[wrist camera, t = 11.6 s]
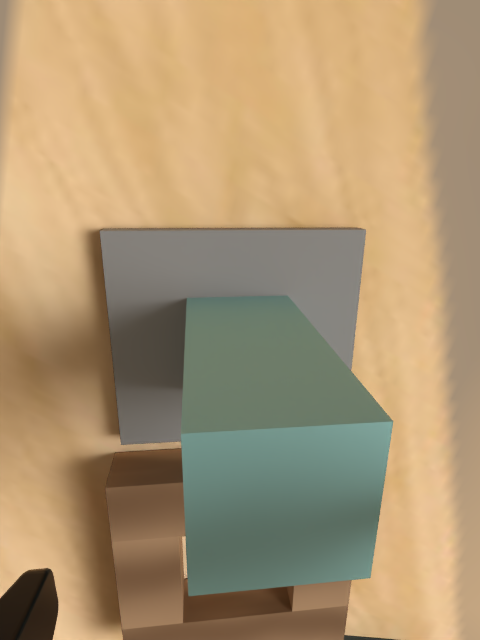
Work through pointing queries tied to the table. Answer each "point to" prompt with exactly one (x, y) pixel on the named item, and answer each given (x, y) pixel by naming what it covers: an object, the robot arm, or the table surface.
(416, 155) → the table surface
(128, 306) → the pad
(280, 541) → the peg
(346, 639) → the watch
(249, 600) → the pocket
